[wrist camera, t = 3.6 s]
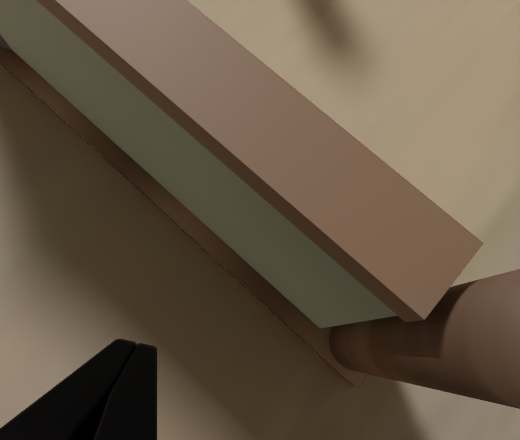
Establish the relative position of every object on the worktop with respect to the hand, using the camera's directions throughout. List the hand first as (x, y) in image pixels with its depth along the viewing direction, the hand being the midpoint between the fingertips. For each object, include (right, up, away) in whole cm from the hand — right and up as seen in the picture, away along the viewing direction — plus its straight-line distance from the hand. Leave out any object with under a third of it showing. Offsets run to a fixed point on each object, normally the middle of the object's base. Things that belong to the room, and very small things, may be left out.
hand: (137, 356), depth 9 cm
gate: (-1, +5, +8) cm, 9 cm away
